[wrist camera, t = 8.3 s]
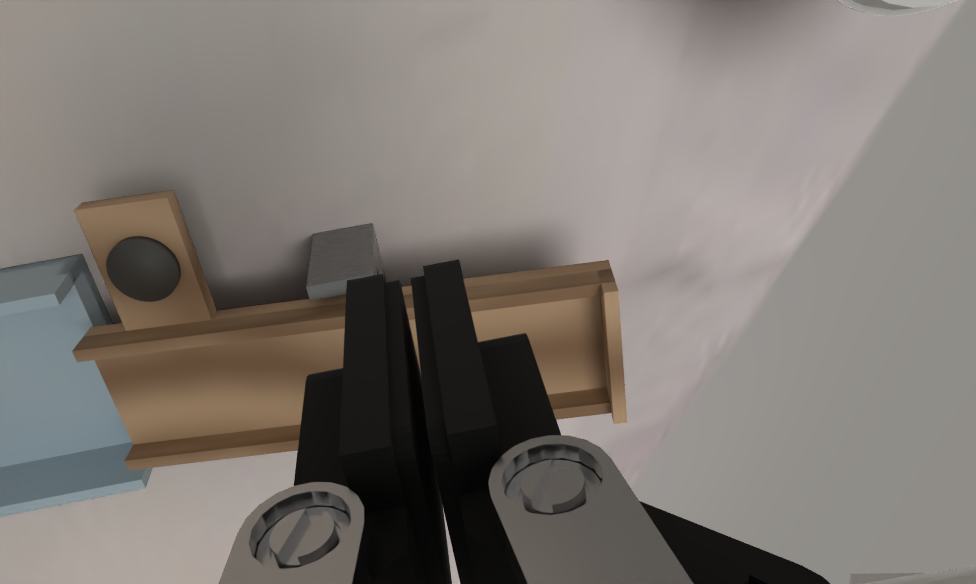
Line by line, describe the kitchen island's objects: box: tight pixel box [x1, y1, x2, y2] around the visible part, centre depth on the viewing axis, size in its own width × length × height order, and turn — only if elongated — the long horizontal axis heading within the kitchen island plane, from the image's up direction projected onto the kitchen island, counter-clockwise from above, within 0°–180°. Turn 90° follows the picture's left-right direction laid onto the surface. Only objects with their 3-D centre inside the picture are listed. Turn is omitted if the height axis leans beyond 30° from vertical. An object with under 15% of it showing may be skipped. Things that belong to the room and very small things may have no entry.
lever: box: [72, 190, 627, 470], centre depth 36 cm, size 13×24×4 cm, turn 98°
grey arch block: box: [306, 223, 386, 301], centre depth 40 cm, size 9×3×6 cm, turn 8°
